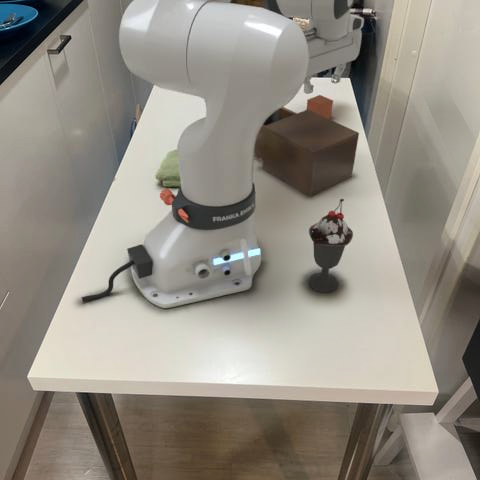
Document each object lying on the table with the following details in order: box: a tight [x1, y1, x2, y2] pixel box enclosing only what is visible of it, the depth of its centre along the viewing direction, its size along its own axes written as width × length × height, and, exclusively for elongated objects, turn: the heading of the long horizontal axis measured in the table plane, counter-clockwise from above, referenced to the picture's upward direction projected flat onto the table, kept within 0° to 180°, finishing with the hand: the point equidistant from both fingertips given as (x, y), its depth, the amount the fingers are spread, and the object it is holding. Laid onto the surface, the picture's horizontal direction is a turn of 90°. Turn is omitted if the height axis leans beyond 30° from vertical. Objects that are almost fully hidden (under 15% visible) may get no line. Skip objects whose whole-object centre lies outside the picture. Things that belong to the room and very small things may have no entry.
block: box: [306, 94, 334, 120], centre depth 125 cm, size 4×4×4 cm
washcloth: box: [155, 148, 181, 188], centre depth 106 cm, size 13×18×3 cm
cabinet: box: [262, 109, 360, 197], centre depth 104 cm, size 15×13×10 cm
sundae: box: [308, 198, 354, 293], centre depth 77 cm, size 7×7×15 cm
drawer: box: [254, 106, 297, 160], centre depth 110 cm, size 18×11×8 cm, turn 39°
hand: (322, 87), depth 121 cm, fingers open, 8 cm apart
